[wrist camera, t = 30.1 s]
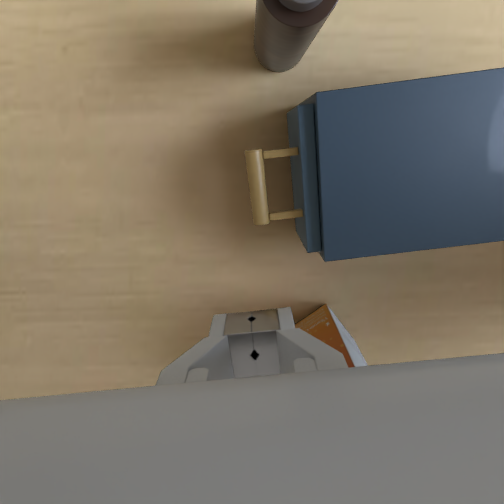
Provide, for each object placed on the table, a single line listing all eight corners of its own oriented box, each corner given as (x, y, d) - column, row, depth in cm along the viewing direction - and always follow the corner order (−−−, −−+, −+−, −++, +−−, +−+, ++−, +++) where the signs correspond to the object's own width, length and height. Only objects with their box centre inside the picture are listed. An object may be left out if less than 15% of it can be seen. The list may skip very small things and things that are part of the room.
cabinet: (306, 233, 34) (324, 262, 26) (297, 105, 30) (315, 92, 22) (454, 215, 34) (518, 239, 26) (465, 82, 30) (546, 61, 22)
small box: (325, 301, 37) (363, 381, 25) (354, 338, 39) (403, 431, 27) (269, 338, 39) (278, 431, 26) (299, 373, 40) (321, 475, 28)
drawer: (255, 236, 34) (257, 259, 27) (241, 118, 30) (239, 112, 23) (437, 214, 33) (482, 232, 27) (445, 91, 29) (500, 78, 23)
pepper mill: (303, 8, 28) (359, -123, 14) (307, 68, 29) (361, 3, 15) (250, 16, 28) (253, -108, 14) (256, 75, 30) (265, 17, 16)
